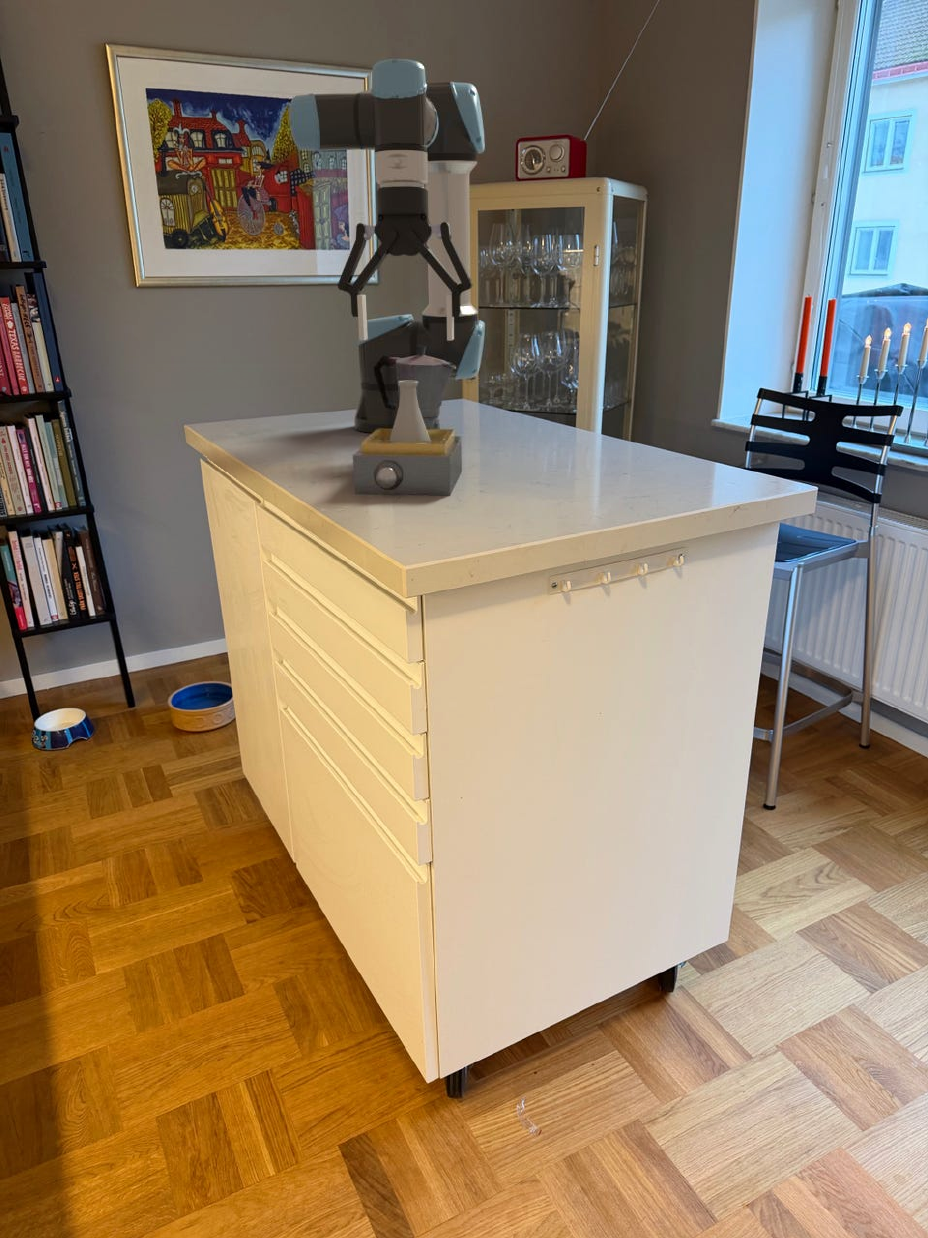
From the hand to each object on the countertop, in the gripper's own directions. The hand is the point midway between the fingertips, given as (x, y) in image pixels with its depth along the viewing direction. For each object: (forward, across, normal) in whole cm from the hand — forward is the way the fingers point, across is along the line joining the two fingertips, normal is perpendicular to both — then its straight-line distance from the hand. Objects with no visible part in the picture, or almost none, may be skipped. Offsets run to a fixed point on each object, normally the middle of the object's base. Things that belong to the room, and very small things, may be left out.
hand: (406, 339), depth 133 cm
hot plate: (+22, 0, -1) cm, 22 cm away
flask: (+16, 0, 0) cm, 16 cm away
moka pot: (+23, -2, +19) cm, 29 cm away
